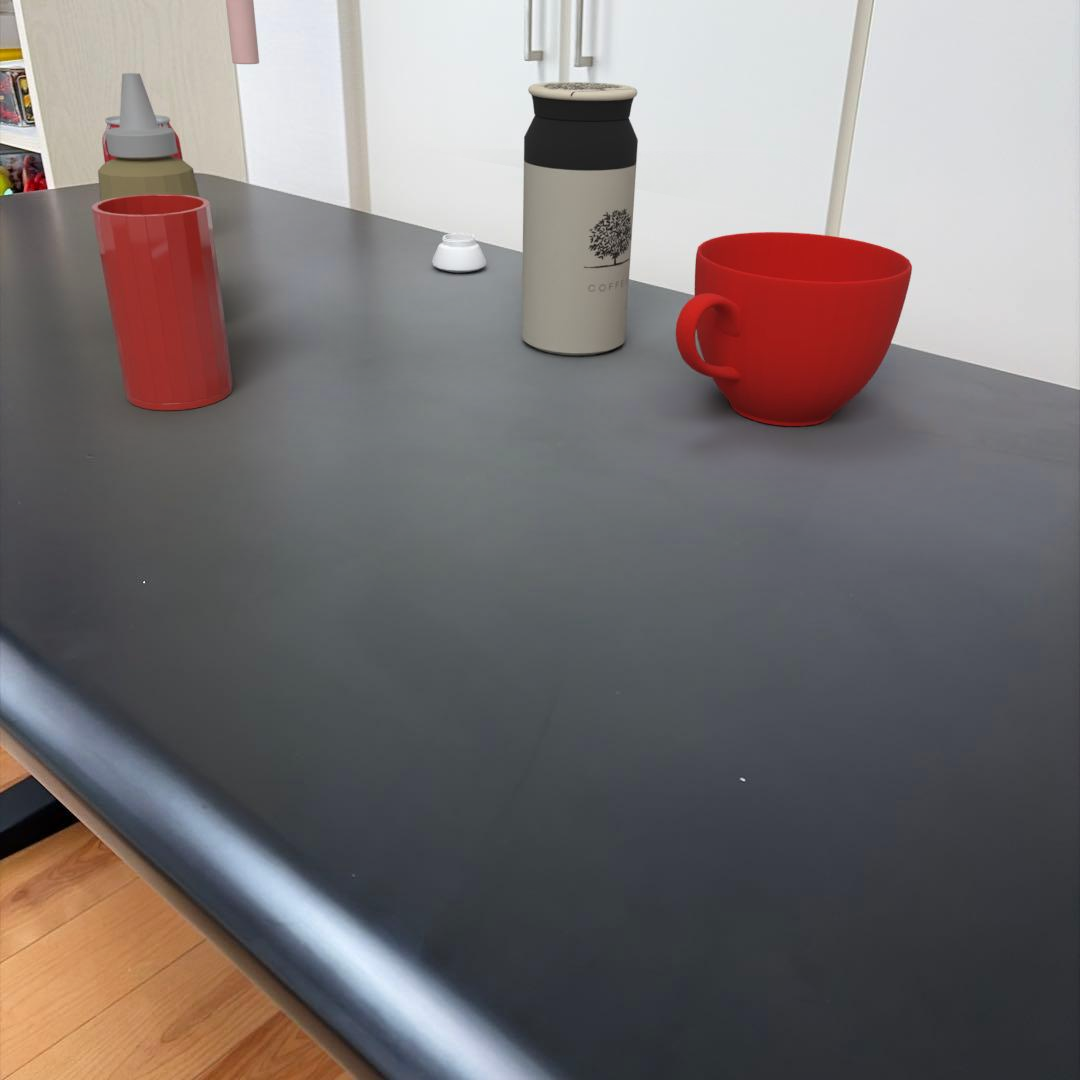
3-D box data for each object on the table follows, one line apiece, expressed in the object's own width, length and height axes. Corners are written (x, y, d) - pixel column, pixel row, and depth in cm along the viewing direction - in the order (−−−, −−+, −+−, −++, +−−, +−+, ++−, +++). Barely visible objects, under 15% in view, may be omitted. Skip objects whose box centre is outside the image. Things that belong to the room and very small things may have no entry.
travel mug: (504, 332, 80) (505, 82, 72) (592, 321, 84) (603, 80, 75) (551, 363, 74) (559, 94, 66) (644, 349, 78) (663, 91, 69)
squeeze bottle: (111, 346, 75) (61, 79, 67) (118, 315, 82) (74, 69, 74) (225, 339, 78) (191, 79, 69) (223, 309, 84) (192, 68, 76)
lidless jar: (426, 272, 96) (478, 276, 95) (425, 240, 94) (478, 244, 94) (440, 260, 100) (490, 263, 100) (440, 229, 99) (490, 232, 98)
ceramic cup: (598, 413, 66) (606, 257, 61) (766, 362, 76) (784, 223, 71) (755, 483, 57) (779, 307, 53) (922, 415, 67) (955, 261, 62)
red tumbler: (112, 410, 65) (75, 215, 59) (142, 374, 71) (111, 193, 65) (221, 410, 65) (194, 216, 59) (241, 374, 71) (219, 194, 65)
